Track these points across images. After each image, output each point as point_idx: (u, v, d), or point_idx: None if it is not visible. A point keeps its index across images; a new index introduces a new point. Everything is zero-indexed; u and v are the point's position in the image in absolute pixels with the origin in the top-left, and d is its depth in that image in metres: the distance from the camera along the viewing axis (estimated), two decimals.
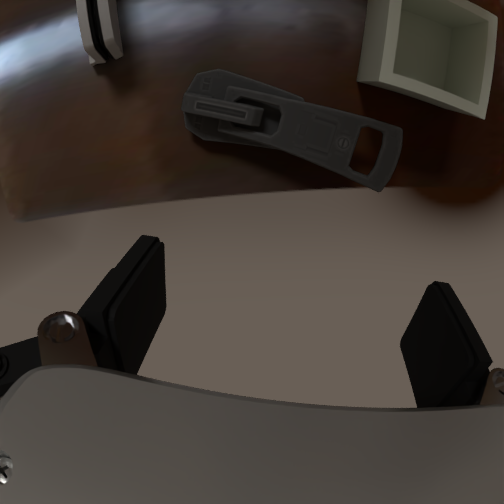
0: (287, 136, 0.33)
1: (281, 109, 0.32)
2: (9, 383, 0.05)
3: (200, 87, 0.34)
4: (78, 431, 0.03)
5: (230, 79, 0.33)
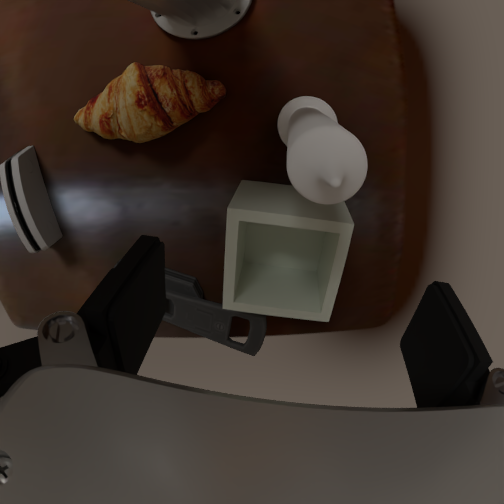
0: (181, 319, 0.46)
1: (173, 302, 0.45)
2: (9, 383, 0.05)
3: None
4: (78, 431, 0.03)
5: None
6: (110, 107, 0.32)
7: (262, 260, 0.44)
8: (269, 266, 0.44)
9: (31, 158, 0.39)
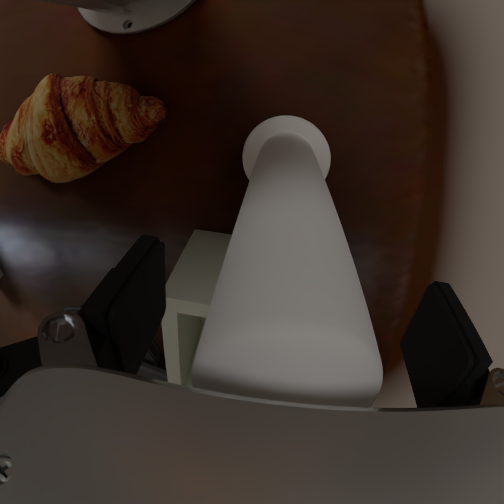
0: None
1: None
2: (9, 383, 0.05)
3: None
4: (78, 431, 0.03)
5: None
6: (20, 138, 0.21)
7: None
8: None
9: None
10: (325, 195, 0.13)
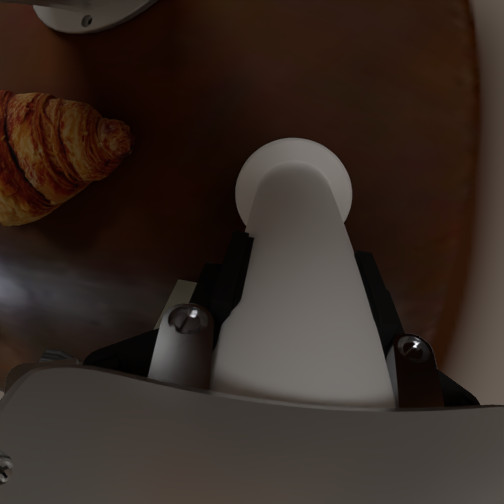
0: None
1: None
2: None
3: None
4: (78, 431, 0.03)
5: None
6: None
7: None
8: None
9: None
10: (366, 319, 0.07)
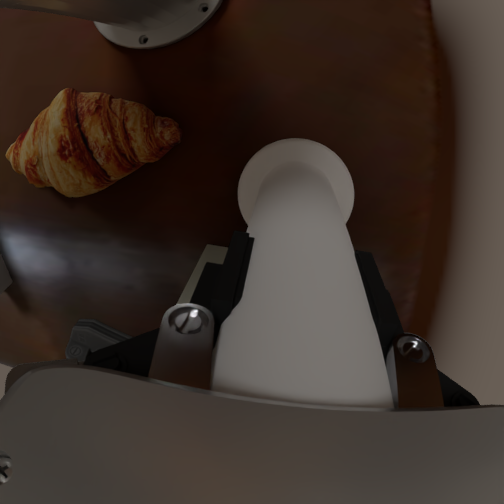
0: None
1: None
2: None
3: (78, 339, 0.37)
4: (78, 431, 0.03)
5: (98, 339, 0.36)
6: (35, 151, 0.22)
7: None
8: None
9: None
10: (365, 319, 0.07)
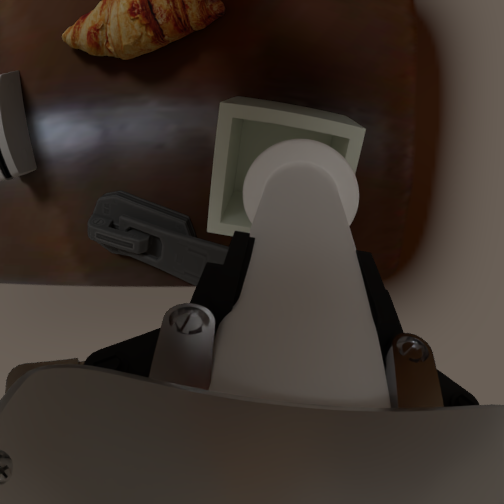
0: (168, 262, 0.40)
1: (161, 240, 0.39)
2: None
3: (102, 211, 0.40)
4: (78, 431, 0.03)
5: (123, 206, 0.39)
6: (101, 19, 0.25)
7: None
8: None
9: (14, 81, 0.31)
10: (364, 318, 0.07)
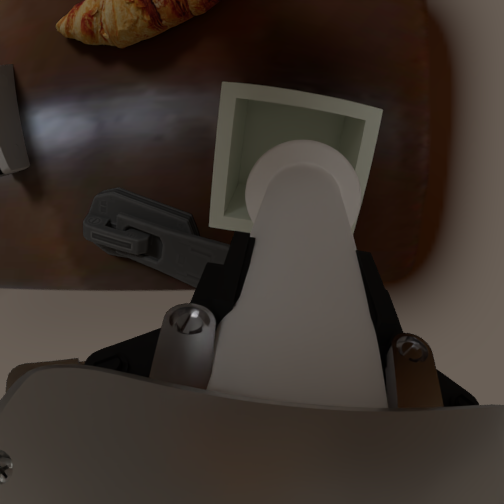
0: (169, 264, 0.37)
1: (161, 240, 0.36)
2: None
3: (99, 209, 0.37)
4: (78, 431, 0.03)
5: (121, 203, 0.37)
6: (96, 5, 0.22)
7: None
8: None
9: (7, 75, 0.28)
10: (362, 319, 0.07)
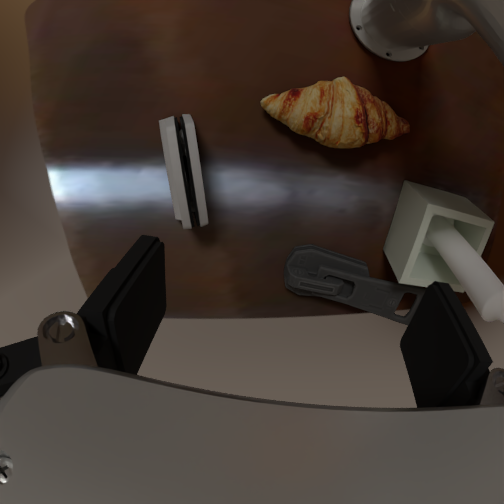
0: (357, 299, 0.51)
1: (355, 284, 0.50)
2: (9, 383, 0.05)
3: (298, 262, 0.52)
4: (78, 431, 0.03)
5: (320, 258, 0.51)
6: (321, 109, 0.37)
7: None
8: None
9: None
10: None
